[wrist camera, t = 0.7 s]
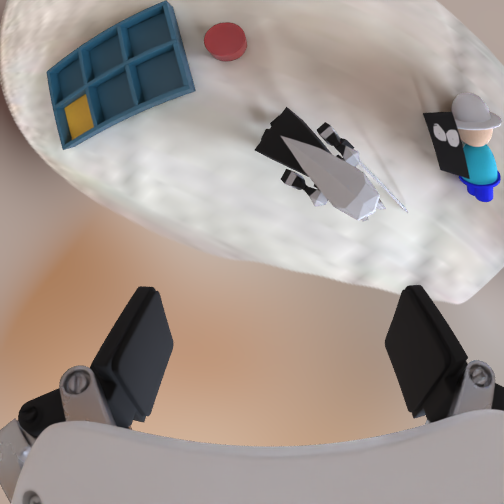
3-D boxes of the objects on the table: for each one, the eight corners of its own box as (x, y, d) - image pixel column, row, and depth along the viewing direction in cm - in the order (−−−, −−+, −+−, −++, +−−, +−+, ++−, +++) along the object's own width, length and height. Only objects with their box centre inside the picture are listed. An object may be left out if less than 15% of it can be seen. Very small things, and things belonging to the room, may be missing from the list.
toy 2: (437, 190, 33) (416, 95, 26) (483, 173, 30) (468, 84, 22) (467, 220, 26) (454, 105, 19) (516, 198, 23) (509, 94, 15)
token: (205, 36, 25) (199, 29, 22) (241, 26, 24) (239, 18, 21) (214, 65, 27) (209, 60, 24) (251, 56, 26) (249, 49, 23)
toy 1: (317, 188, 43) (383, 252, 35) (236, 146, 27) (334, 241, 20) (345, 153, 40) (416, 213, 32) (277, 90, 24) (396, 166, 17)
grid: (57, 72, 25) (46, 71, 23) (172, 7, 22) (166, 0, 20) (73, 147, 31) (62, 150, 29) (195, 91, 28) (189, 88, 26)
